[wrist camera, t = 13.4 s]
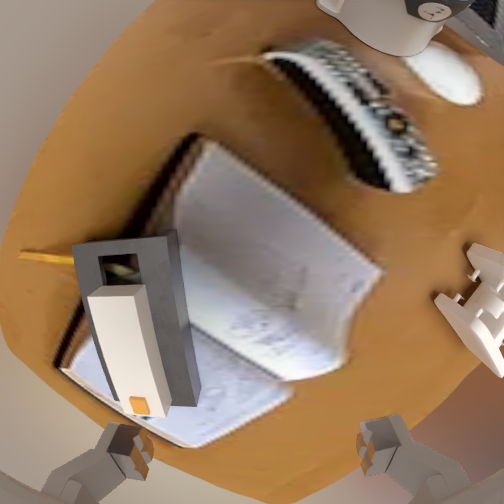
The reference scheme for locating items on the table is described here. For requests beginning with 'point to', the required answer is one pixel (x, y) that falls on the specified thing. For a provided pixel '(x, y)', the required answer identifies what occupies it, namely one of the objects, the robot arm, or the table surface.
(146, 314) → the power strip
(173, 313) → the keyhole plate
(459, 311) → the cable organizer
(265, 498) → the table surface
